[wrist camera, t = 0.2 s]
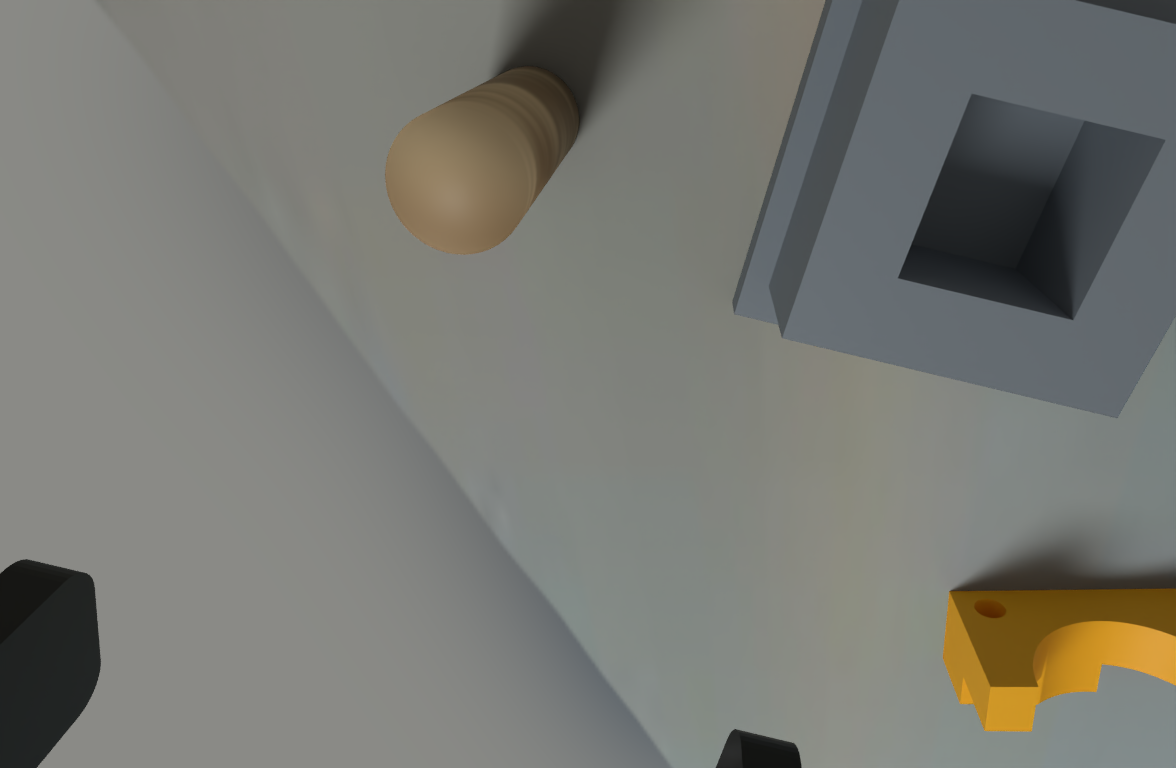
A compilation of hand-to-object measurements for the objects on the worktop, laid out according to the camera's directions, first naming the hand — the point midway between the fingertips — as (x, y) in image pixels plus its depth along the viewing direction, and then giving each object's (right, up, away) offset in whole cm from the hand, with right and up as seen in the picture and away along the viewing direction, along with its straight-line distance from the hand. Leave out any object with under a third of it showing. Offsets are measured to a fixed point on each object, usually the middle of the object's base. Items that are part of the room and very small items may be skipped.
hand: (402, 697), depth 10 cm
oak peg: (0, +15, +24) cm, 28 cm away
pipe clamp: (+26, -8, +32) cm, 42 cm away
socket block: (+17, +12, +23) cm, 31 cm away
